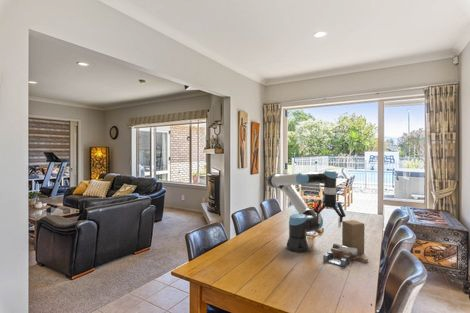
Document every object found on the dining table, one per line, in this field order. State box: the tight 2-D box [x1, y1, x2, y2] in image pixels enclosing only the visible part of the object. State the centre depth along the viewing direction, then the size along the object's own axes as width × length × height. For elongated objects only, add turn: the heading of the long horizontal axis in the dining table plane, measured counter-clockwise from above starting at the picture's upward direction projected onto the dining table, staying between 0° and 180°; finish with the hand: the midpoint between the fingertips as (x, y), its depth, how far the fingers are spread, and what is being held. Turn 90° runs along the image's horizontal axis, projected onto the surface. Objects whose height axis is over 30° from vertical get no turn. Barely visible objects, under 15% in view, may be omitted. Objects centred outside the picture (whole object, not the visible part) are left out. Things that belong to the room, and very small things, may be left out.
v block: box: [322, 250, 351, 268], centre depth 162 cm, size 13×9×4 cm
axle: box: [332, 243, 358, 257], centre depth 170 cm, size 14×5×5 cm, turn 49°
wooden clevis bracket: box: [330, 247, 369, 264], centre depth 168 cm, size 20×11×5 cm, turn 49°
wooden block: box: [341, 219, 365, 255], centre depth 179 cm, size 10×10×20 cm
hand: (329, 225), depth 177 cm, fingers open, 13 cm apart
